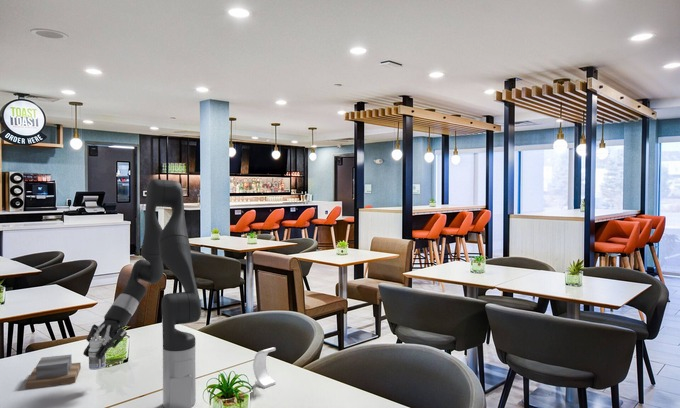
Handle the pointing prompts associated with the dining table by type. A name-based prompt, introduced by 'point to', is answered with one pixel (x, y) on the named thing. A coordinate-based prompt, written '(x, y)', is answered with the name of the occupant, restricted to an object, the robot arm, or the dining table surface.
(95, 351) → the pill bottle
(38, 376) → the pedestal
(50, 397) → the dining table surface
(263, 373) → the headphone stand
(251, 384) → the dining table surface
